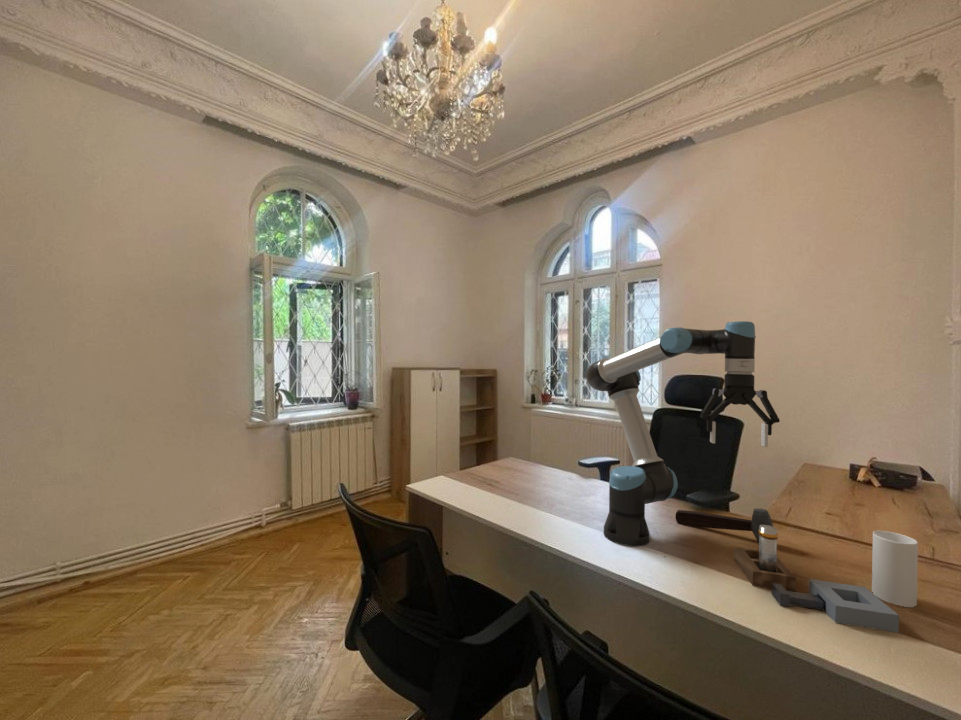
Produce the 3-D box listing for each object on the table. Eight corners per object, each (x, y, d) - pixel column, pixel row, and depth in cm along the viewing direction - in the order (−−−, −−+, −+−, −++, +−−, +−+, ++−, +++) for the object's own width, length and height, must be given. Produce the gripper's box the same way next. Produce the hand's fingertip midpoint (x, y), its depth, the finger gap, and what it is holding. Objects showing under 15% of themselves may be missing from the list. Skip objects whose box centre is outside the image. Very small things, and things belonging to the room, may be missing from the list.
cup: (863, 589, 109) (864, 530, 109) (890, 588, 109) (891, 530, 109) (897, 608, 100) (898, 544, 100) (926, 607, 101) (927, 543, 101)
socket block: (835, 622, 94) (835, 605, 94) (808, 594, 106) (809, 579, 106) (898, 632, 91) (898, 615, 91) (864, 602, 103) (864, 586, 103)
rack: (752, 585, 109) (752, 571, 109) (734, 559, 124) (734, 546, 124) (795, 592, 107) (795, 577, 107) (771, 565, 121) (771, 551, 121)
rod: (761, 583, 110) (762, 529, 110) (755, 575, 115) (756, 523, 115) (779, 586, 109) (780, 531, 109) (773, 578, 113) (773, 525, 113)
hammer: (676, 534, 151) (774, 547, 132) (673, 503, 152) (770, 512, 133) (679, 530, 154) (775, 542, 136) (676, 500, 155) (770, 508, 137)
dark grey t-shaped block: (780, 605, 100) (780, 593, 100) (771, 594, 105) (771, 582, 105) (827, 612, 98) (828, 600, 98) (816, 601, 102) (817, 589, 102)
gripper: (696, 372, 119) (694, 443, 119) (794, 374, 112) (793, 450, 112) (690, 372, 126) (689, 439, 126) (782, 374, 120) (781, 445, 120)
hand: (738, 444), depth 119 cm, fingers open, 13 cm apart
